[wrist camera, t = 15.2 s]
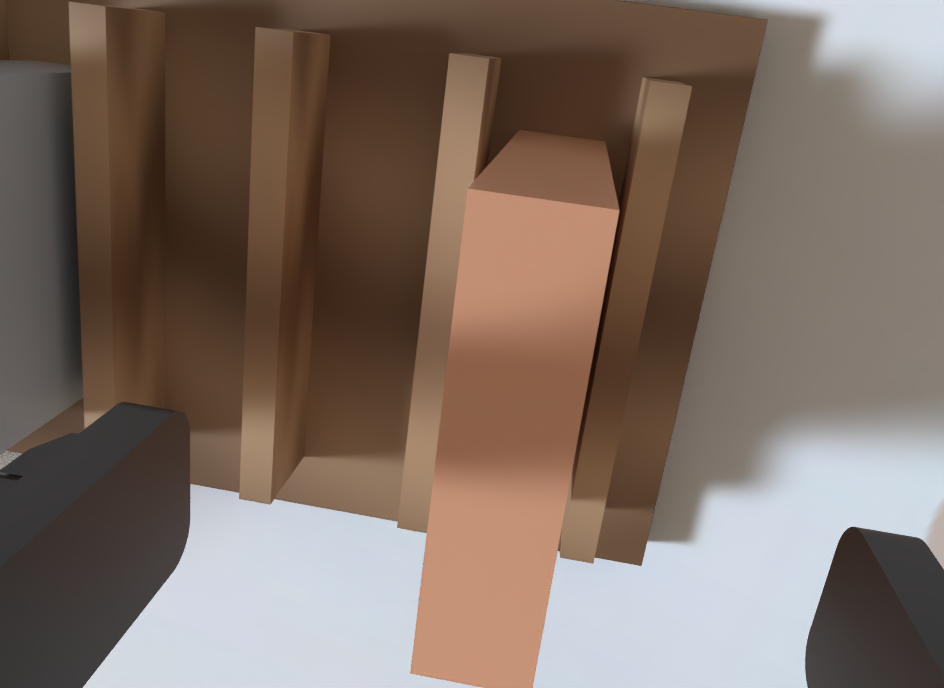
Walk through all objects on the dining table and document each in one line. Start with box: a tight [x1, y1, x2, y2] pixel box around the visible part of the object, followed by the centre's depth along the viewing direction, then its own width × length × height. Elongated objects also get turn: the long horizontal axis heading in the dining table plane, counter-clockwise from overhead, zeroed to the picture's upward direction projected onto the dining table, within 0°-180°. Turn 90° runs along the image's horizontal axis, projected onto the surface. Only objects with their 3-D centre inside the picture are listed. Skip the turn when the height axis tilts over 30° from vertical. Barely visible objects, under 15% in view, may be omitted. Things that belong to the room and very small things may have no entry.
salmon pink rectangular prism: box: [410, 130, 619, 688], centre depth 16 cm, size 8×2×9 cm, turn 173°
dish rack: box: [0, 0, 767, 566], centre depth 21 cm, size 14×20×4 cm
